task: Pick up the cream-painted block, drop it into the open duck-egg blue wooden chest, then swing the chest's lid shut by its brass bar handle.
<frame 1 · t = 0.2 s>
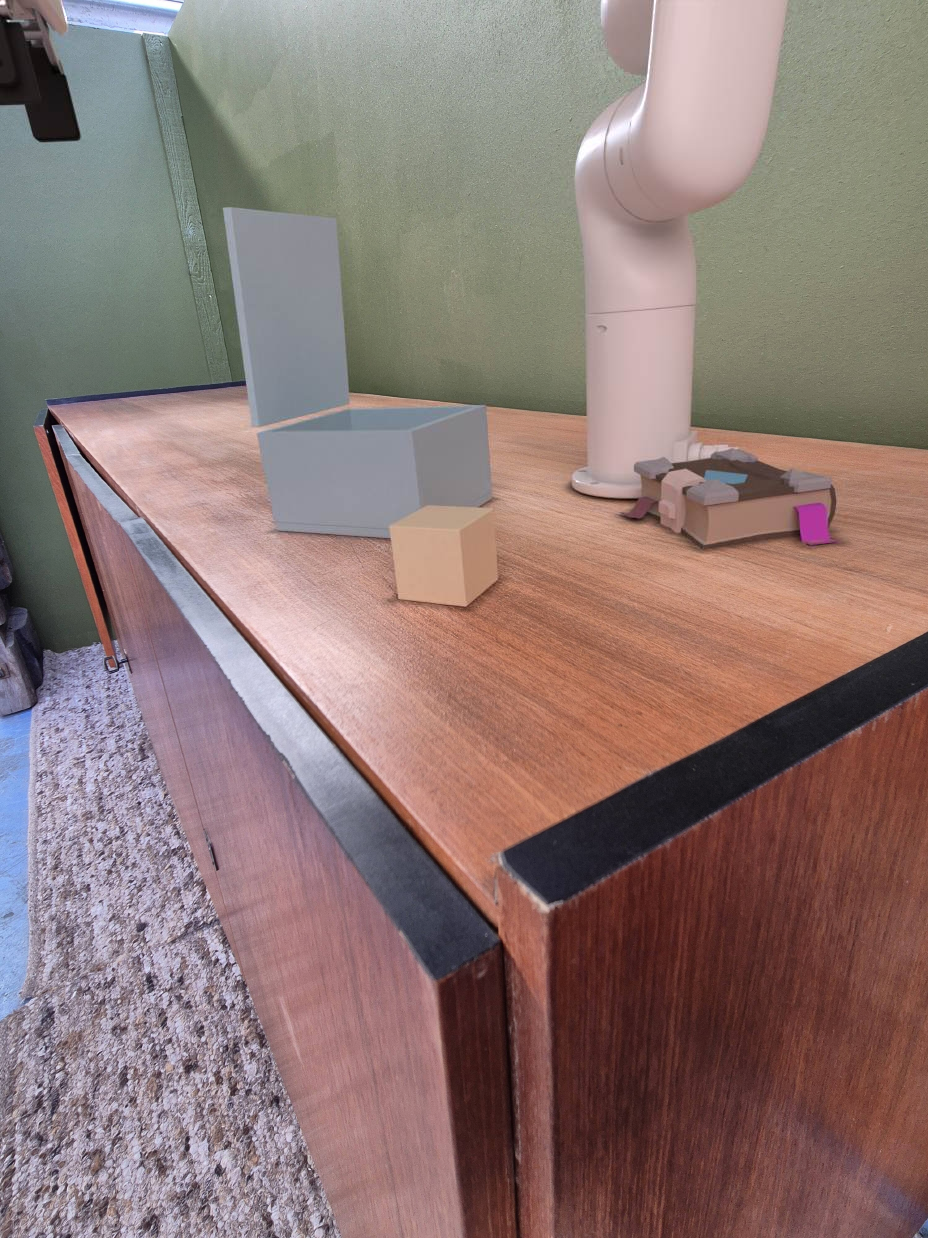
hand: (38, 123, 49), 31 cm above the table, tool pointing down, fingers open, 9 cm apart
lid: (278, 319, 64), point 18 cm above the table, hinge at 85.0°
chest: (387, 514, 67), on the table
block: (449, 589, 47), on the table
book: (704, 522, 58), on the table
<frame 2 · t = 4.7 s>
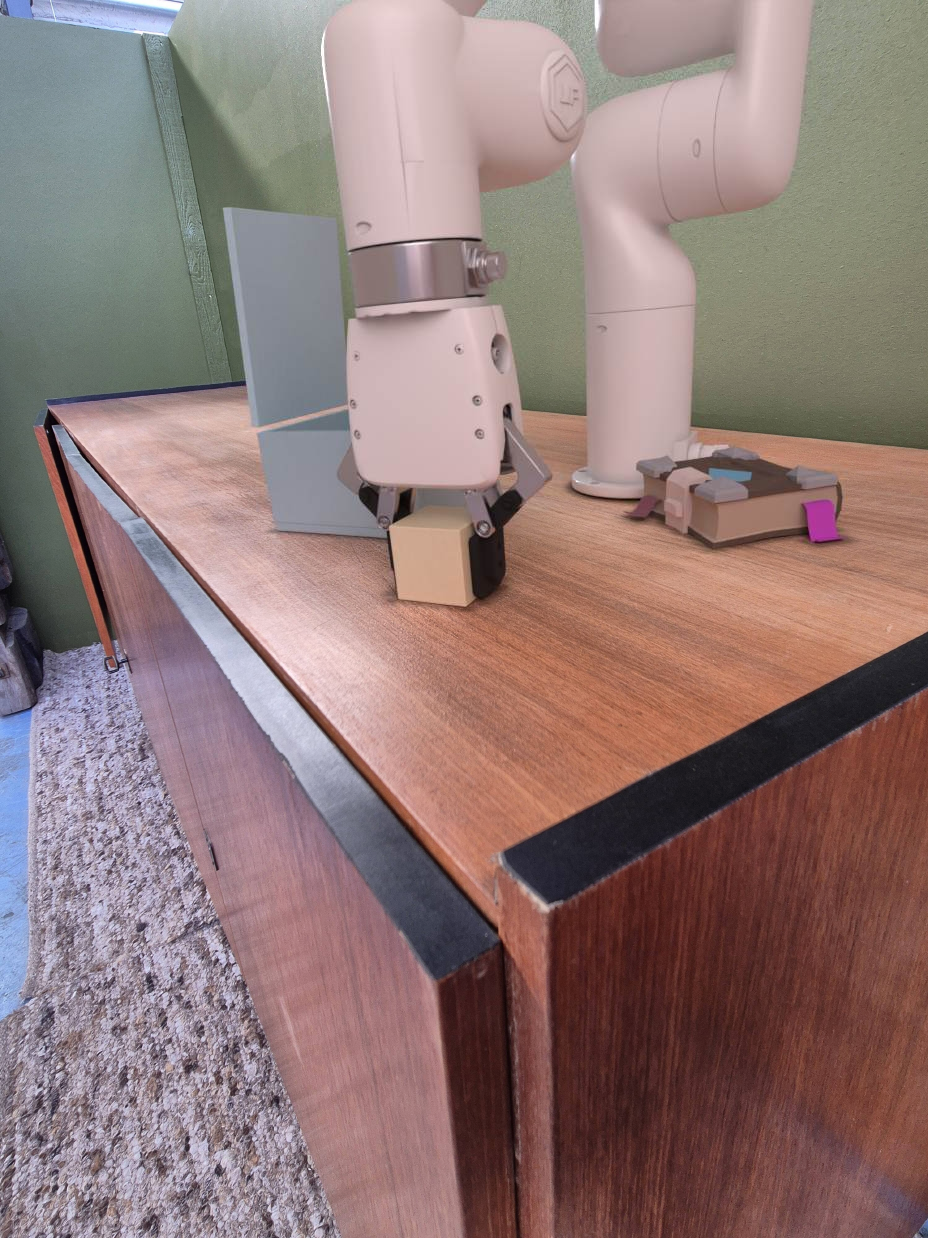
hand: (448, 583, 47), 0 cm above the table, tool pointing down, fingers closed on block, 5 cm apart
block: (449, 589, 47), on the table, touching gripper
book: (708, 520, 58), on the table, touching arm
everything else where it was.
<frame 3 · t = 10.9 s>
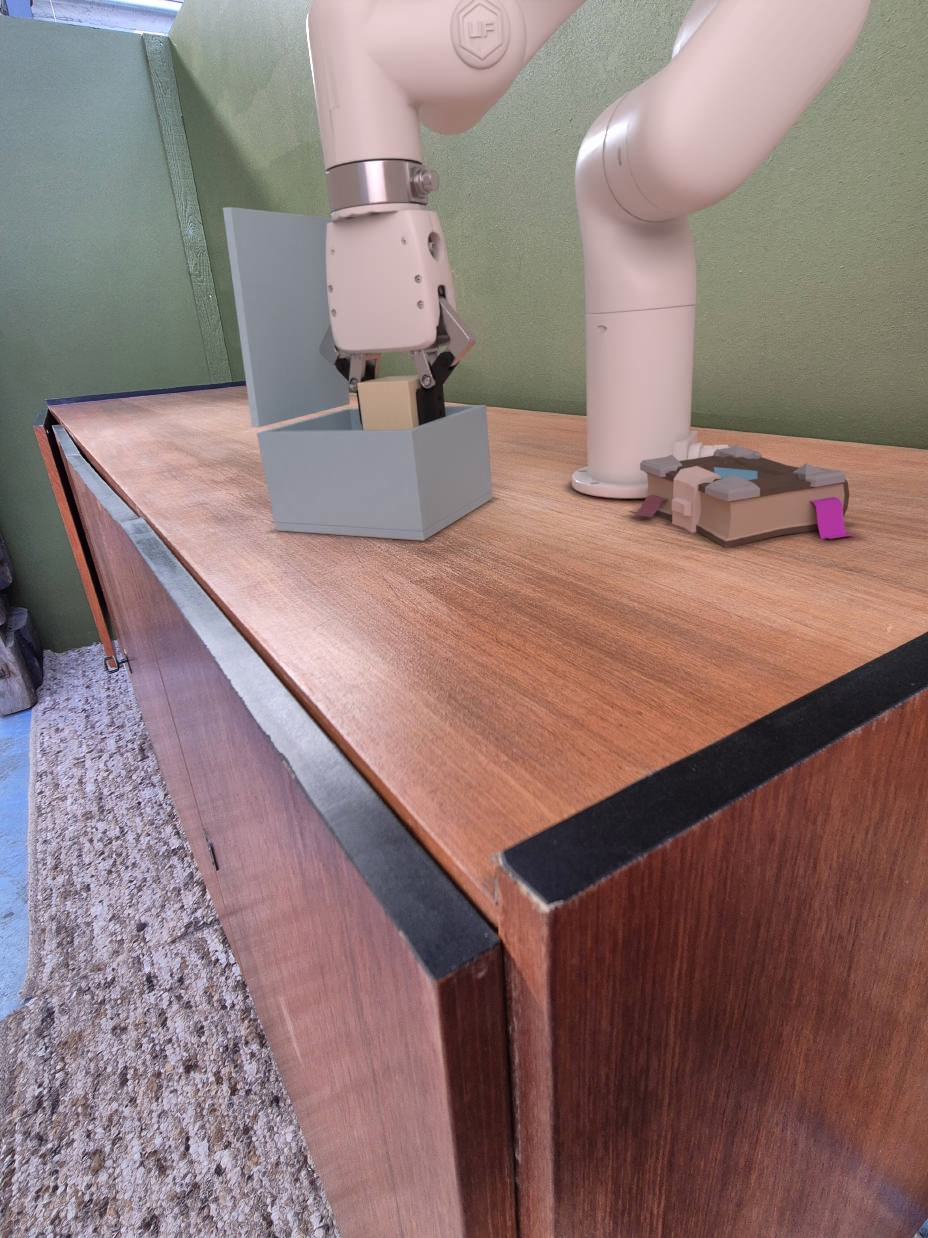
hand: (403, 432, 63), 8 cm above the table, tool pointing down, fingers closed on block, 5 cm apart
block: (404, 437, 63), point 7 cm above the table, touching gripper
when the fingers open (10 cm above the table, at t = 22.0 s): block stays where it is, resting on chest.
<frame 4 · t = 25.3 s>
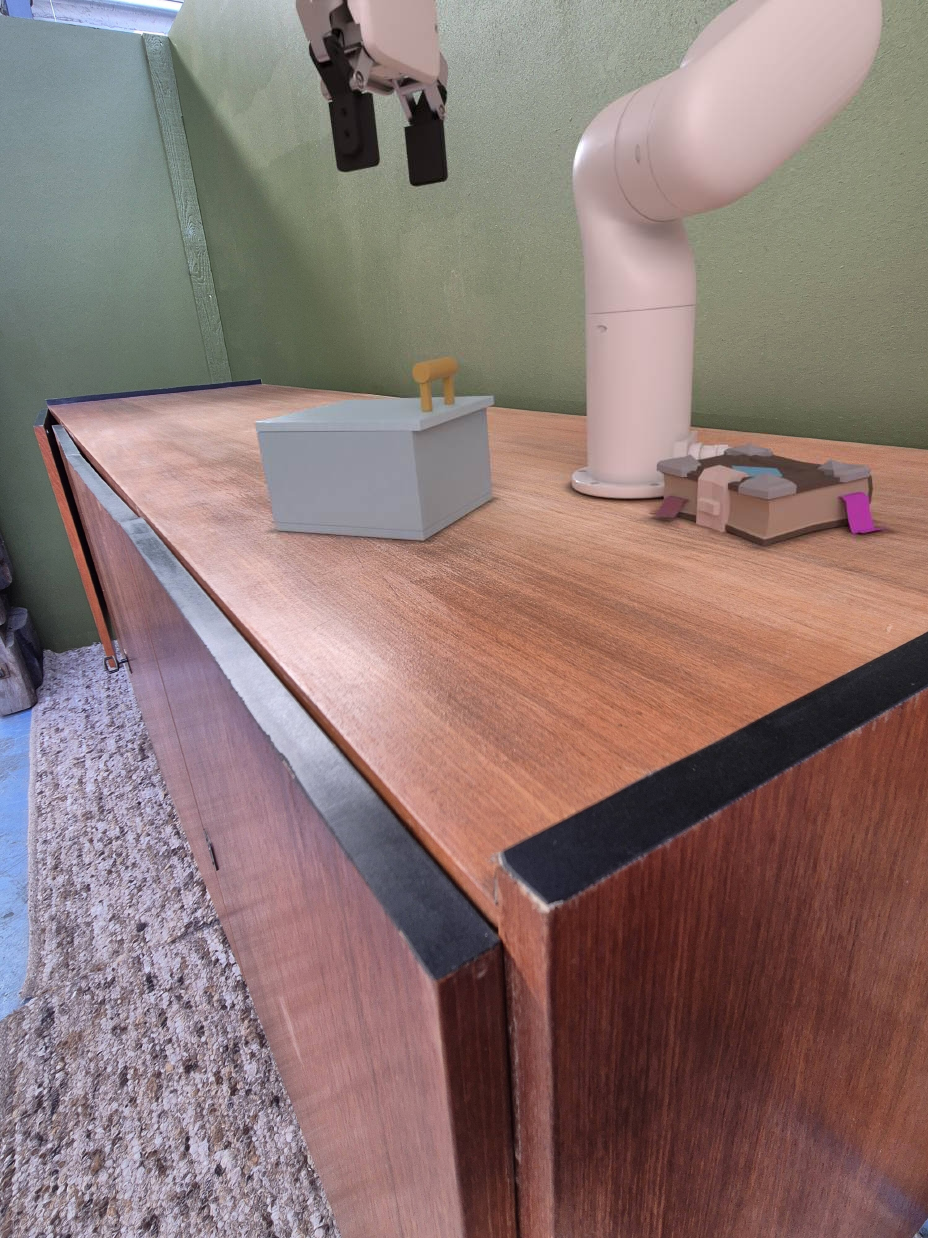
hand: (396, 176, 52), 26 cm above the table, tool pointing down, fingers open, 9 cm apart
lid: (375, 390, 62), point 11 cm above the table, hinge at -0.2°, touching chest
block: (409, 507, 65), point 1 cm above the table, touching chest
book: (733, 518, 58), on the table, touching arm
at the end: block inside the target area in the chest (2.6 cm from its centre), point 0.8 cm above the chest's base; lid at +0° (first picture: +85°) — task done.
